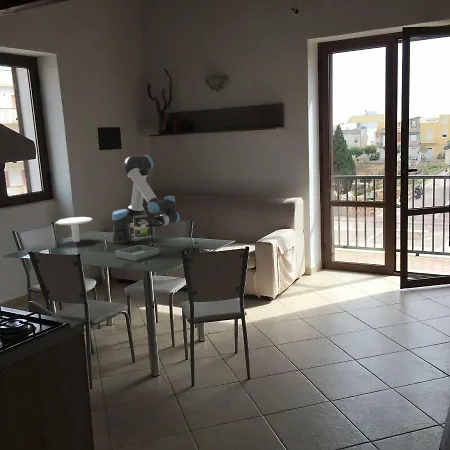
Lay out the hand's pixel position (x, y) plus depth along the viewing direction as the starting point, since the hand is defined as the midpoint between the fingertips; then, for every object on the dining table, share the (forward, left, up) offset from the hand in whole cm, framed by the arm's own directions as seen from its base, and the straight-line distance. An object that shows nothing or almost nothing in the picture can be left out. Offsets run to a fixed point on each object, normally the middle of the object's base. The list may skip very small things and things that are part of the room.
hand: (136, 226), depth 317 cm
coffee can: (0, +4, -8) cm, 9 cm away
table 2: (-74, 0, -18) cm, 76 cm away
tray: (+5, -5, -18) cm, 20 cm away
